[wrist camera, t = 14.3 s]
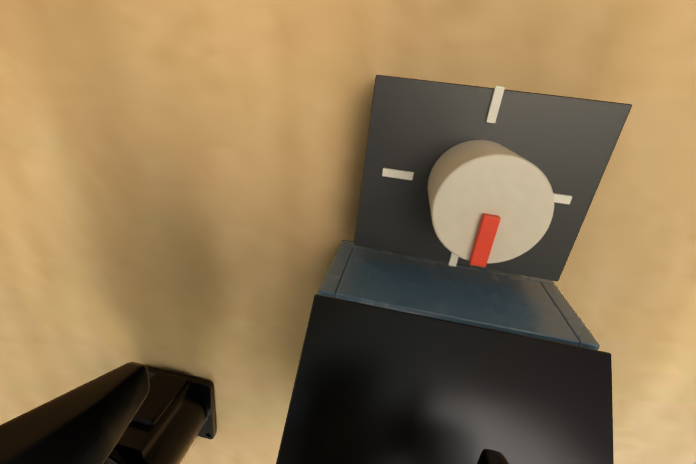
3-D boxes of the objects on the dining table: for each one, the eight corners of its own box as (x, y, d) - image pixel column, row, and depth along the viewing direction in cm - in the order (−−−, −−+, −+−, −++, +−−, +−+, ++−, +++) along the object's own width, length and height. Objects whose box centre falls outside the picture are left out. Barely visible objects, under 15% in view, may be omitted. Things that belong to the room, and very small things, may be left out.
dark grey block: (492, 417, 24) (514, 509, 19) (326, 379, 25) (303, 454, 20) (549, 276, 19) (601, 345, 14) (342, 239, 21) (318, 290, 15)
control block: (595, 100, 16) (637, 101, 13) (536, 256, 19) (558, 285, 16) (382, 75, 17) (376, 71, 14) (361, 226, 20) (353, 248, 17)
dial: (437, 133, 15) (446, 147, 11) (534, 146, 14) (578, 165, 10) (419, 219, 16) (421, 257, 12) (506, 233, 16) (535, 277, 12)
